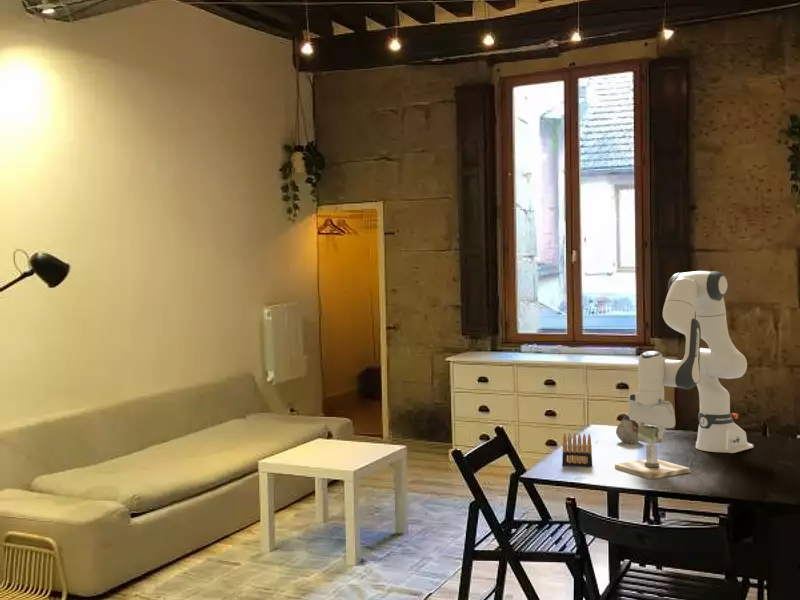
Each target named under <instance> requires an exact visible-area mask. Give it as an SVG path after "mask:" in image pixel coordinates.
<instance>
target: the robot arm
mask: <svg viewBox="0 0 800 600" xmlns="http://www.w3.org/2000/svg"><path fill="white" fill-rule="evenodd" d="M667 283H668V285H667V288H668V292H667V295H666V297H665V301H664V304H663V307H662V308H663V309H662V318H663V320H664V323H665V324H666V325H667V326H668V327H669V328H671V329H673V330H674V331H676V332H678V333H680V334H682V335H684V337H685V349H684V355H683V358H682V359H681V360H680V359H669V358H665V357H663V353H662V352H661V351H657V350H650V351H644V352H642V353H641V354H640V355H639V359H638V364H637V378H638V382H639V384H638V386H637V387H638V388H637V392H634V393H630V394H628V395H627V398H628V405H627V410H628V411H627V416H629V418H630V420H634V421H636V422H637V423H638V425H639V427H640V426H645V425H646V424H647V425H655V426H658V429H659V431H658V433H656V438H658V439H662V438H663V433H664V431H665V430H666V429H672V428H674V427H675V426H676V415H675V410H674V405H673V404H672V403H671V401H670V400H665V387H671V388H672V387H673V388H679V389H683V390H691V389H692V388H694V387H695V386H697V387H696V388H697V391H698V398H699V412H698V422H699V424H698V429H697V437H696V442H695V448H696V449H697V450H700V451H704V452H710V453H711V452H712V453H726V454H727V453H728V454H734V453H735V454H736V453H739V452H742V451H746V450H749V449H753V448H754V444H753V443H750V442H748V439H747V437H748V436H747V432H746V431H745V430H744V429H743V428H741V427H740V426H739V425H737V424H736V423H735V422H734V419H736V420H737V419H738V413H734V412H732V413H731V401H730V400H731V399H730V398H731V395H730V393H729V391H728V389H726V388H725V387H724V386H723V385H722V384H721V382H720V381H719V379H726V380H730V379H731V380H732V379H739V378H741V377H743V376H744V375H745V374H746V372H747V369H748V362H747V361H748V360H747V358H746V357H745V354H743V353H741V352H740V351H739V349H737V348H736V346H735V344H734V343H733V341H732V339H731V337H730V333H729V329H728V320H727V311H726V309H727V308H726V303H725V299H724V298H725V296H726V295H727V292H728V289H729V282H728V278H727V276H726V275H725V274H724V273H723V272H721V271H716V270H711V271H709V270H696V271H695V270H694V271H686V272H685V271H684V272H683V271H682V272H681V271H680V272H677V273H676V272H675V273H674V274H673V275H672V276H671V277H669V279H668V282H667ZM701 340H702V341H704V342H705V343H706V344H707V347H708V348H705V347H701ZM664 386H665V387H664ZM665 432H666V431H665Z"/></svg>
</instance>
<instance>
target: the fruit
mask: <svg viewBox="0 0 800 600" xmlns="http://www.w3.org/2000/svg"><path fill="white" fill-rule="evenodd" d="M638 427H639V425H638V421H634V420H630V418H629V416H628V415H626V414H623V418H622V419H621V421H620V423H619V424H618V425H617V427H616V430H615V433H616V437H617V438H618V439H619V440H620V441H621V442H622V443H624V444H635V445H636V444H637V443H639V441H638Z"/></svg>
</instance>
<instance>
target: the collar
mask: <svg viewBox="0 0 800 600" xmlns="http://www.w3.org/2000/svg"><path fill="white" fill-rule="evenodd" d="M658 431H659V429H658V426H655V425H651V424H647V425H644V426H640V427H638V442H642V443H646V444H648V445H649V444H654V445H655V444H659V443H660V444H661V443H665V442H666V431H664V433H663V438H662V439H658V438H656V433H658Z"/></svg>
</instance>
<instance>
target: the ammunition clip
mask: <svg viewBox="0 0 800 600" xmlns="http://www.w3.org/2000/svg"><path fill="white" fill-rule="evenodd" d="M590 434H591V433H588V435H587V437H586V433H583V434H582V436H581V434H580V433H578V436H577V435H576V433H573V436H572V435H571V433H568V435H567V434H566V432H564V433H563V436H562V457H561V458H562V459H561V460H562V462H561V463H562V466H563V467H577V468H579V467H580V468H593V451H592V450H593V449H592V437H591V435H590ZM567 436H568V438H567Z"/></svg>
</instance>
